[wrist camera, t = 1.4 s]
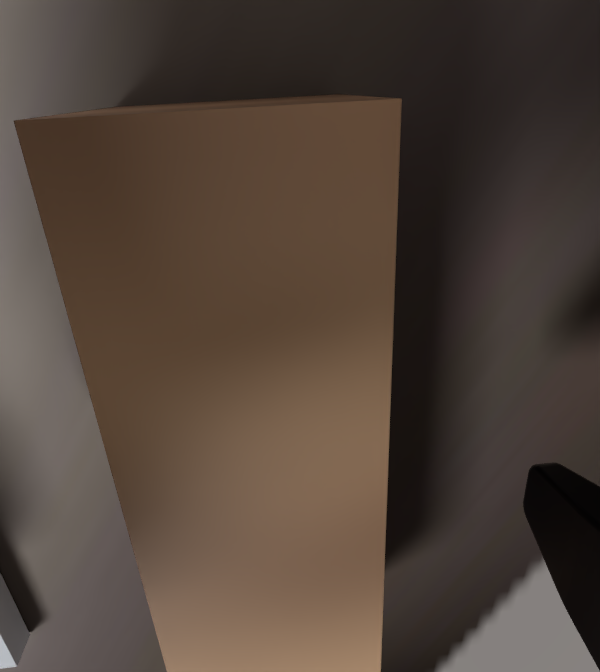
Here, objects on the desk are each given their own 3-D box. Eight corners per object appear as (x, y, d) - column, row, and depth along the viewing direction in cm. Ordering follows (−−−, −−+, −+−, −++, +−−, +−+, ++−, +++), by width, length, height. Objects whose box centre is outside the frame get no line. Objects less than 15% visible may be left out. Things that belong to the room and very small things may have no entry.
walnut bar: (344, 587, 14) (377, 766, 10) (213, 601, 13) (199, 789, 10) (336, 93, 8) (401, 98, 5) (119, 106, 8) (13, 121, 4)
